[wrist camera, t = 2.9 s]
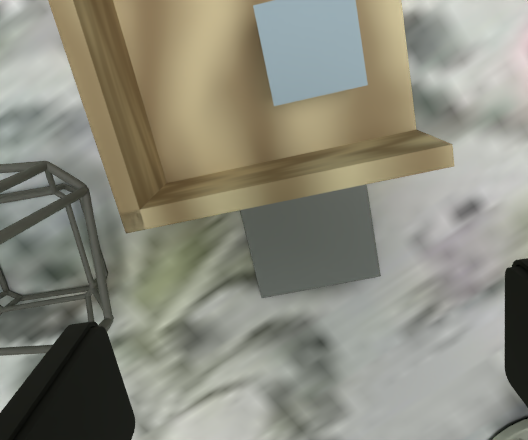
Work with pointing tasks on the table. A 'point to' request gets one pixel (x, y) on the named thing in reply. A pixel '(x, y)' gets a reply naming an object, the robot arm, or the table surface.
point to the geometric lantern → (83, 195)
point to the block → (310, 47)
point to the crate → (232, 109)
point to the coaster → (312, 241)
